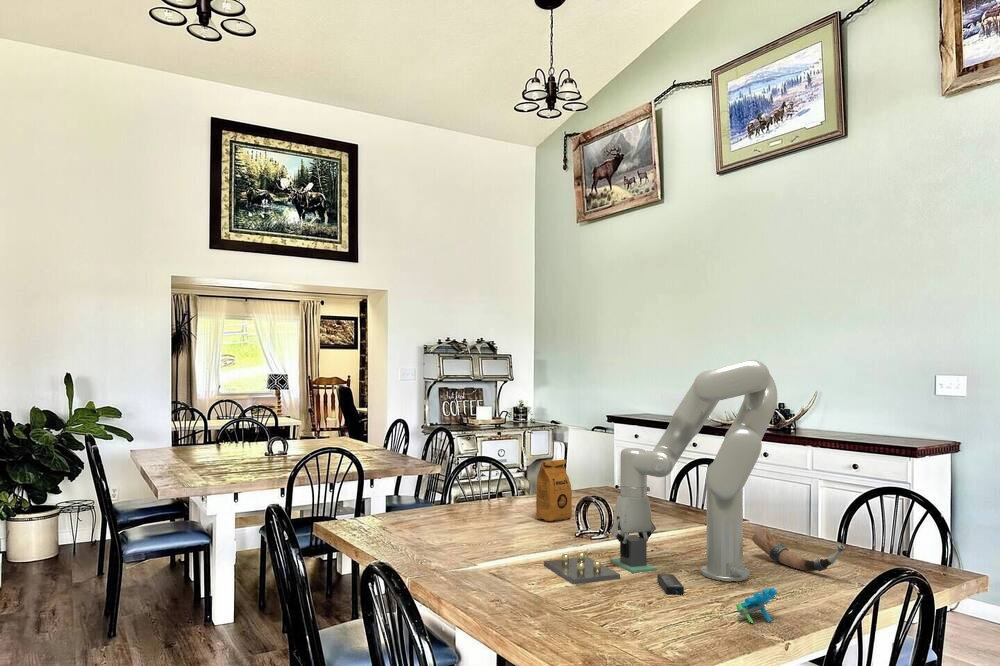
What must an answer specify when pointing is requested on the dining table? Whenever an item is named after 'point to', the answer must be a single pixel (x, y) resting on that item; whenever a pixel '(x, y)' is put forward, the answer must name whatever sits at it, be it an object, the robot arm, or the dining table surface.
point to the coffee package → (553, 492)
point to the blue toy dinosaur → (757, 603)
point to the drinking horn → (784, 556)
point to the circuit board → (633, 569)
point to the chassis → (581, 569)
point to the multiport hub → (670, 584)
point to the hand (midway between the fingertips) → (633, 555)
